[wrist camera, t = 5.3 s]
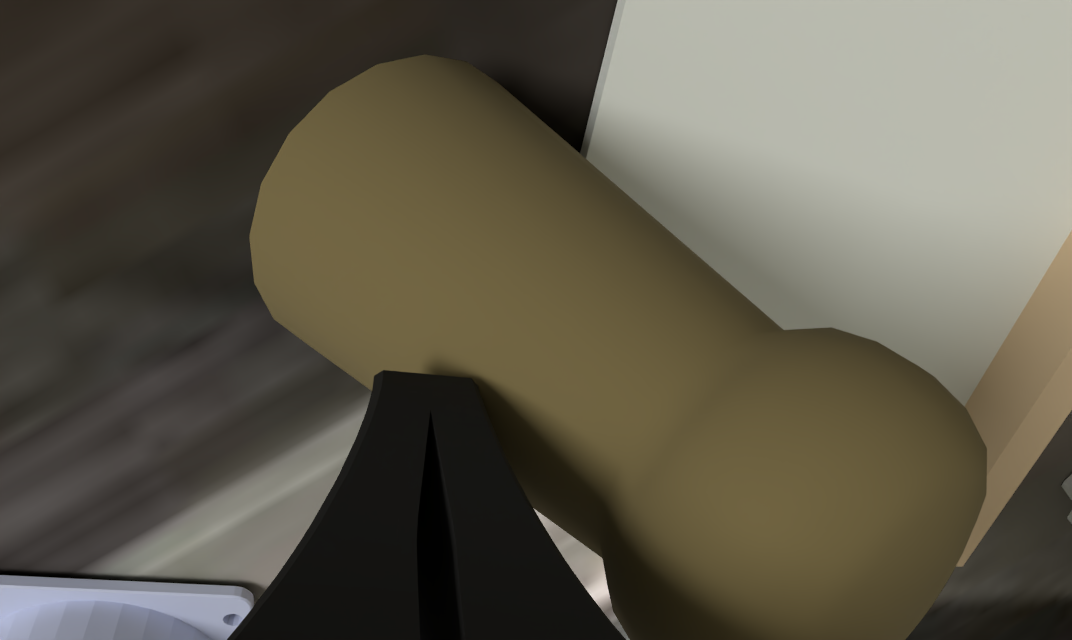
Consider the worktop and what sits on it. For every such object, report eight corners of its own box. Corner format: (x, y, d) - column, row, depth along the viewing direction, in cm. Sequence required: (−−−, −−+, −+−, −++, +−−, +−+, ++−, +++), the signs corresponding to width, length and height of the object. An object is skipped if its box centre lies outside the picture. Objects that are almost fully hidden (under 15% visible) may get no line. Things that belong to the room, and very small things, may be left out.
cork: (519, 9, 17) (1130, 316, 11) (531, 269, 21) (980, 604, 15) (207, 130, 14) (779, 636, 8) (290, 402, 19) (713, 882, 12)
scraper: (923, 497, 27) (962, 566, 25) (502, 466, 25) (508, 540, 23) (1296, -101, 18) (1402, -65, 16) (677, -240, 15) (712, -218, 13)
